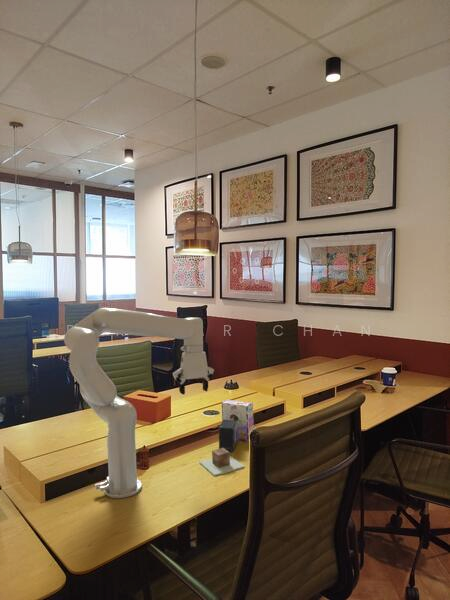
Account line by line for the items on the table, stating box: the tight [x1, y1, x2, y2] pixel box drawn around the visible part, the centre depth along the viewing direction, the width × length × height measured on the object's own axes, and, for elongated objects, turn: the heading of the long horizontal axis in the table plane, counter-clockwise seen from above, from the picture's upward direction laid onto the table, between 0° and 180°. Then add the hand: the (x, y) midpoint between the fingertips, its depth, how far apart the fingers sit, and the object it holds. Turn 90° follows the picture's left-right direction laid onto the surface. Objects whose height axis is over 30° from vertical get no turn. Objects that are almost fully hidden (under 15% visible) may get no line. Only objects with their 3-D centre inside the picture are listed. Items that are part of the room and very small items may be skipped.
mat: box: [199, 455, 245, 477], centre depth 159 cm, size 13×13×1 cm
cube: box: [211, 448, 231, 468], centre depth 159 cm, size 5×5×5 cm
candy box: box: [221, 399, 255, 443], centre depth 187 cm, size 14×6×16 cm, turn 58°
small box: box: [218, 419, 238, 453], centre depth 176 cm, size 11×6×10 cm, turn 168°
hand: (194, 392), depth 160 cm, fingers open, 9 cm apart
